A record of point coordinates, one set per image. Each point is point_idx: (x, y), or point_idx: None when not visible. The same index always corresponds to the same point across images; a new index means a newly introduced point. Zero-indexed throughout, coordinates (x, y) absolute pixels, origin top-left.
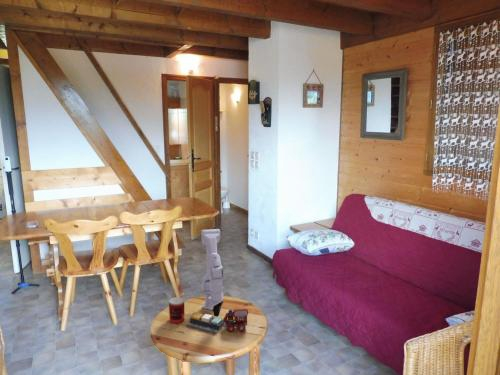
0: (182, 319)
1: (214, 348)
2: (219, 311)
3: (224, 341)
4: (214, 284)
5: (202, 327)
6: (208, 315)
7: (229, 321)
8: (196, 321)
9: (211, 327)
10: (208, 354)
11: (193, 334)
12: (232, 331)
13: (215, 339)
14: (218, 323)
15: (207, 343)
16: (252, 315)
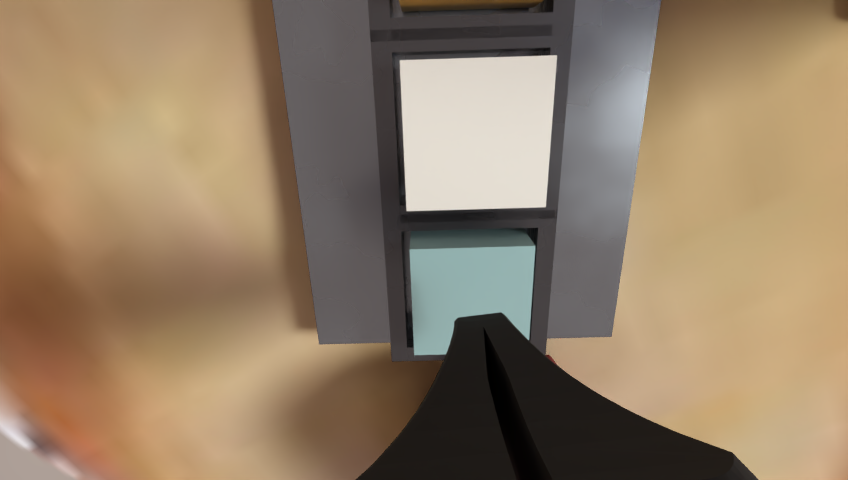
0: None
1: (123, 419)
2: (510, 459)
3: (268, 441)
4: None
5: (311, 147)
6: (519, 144)
7: None
8: None
9: (374, 253)
10: (18, 417)
11: (165, 93)
12: None
13: (244, 364)
14: (421, 350)
15: (138, 332)
16: (810, 467)
